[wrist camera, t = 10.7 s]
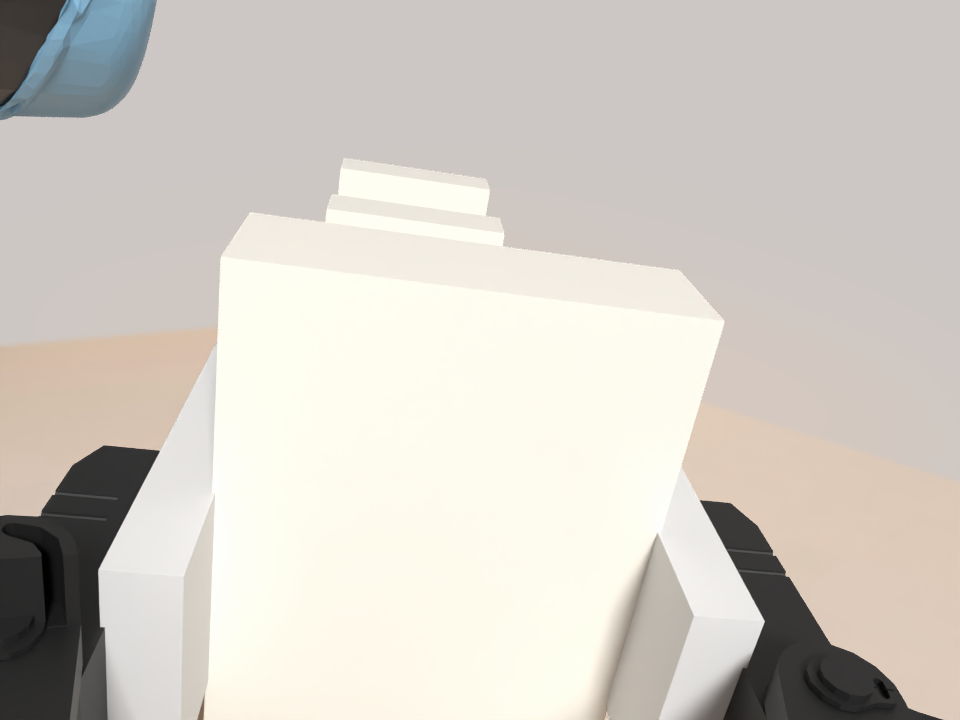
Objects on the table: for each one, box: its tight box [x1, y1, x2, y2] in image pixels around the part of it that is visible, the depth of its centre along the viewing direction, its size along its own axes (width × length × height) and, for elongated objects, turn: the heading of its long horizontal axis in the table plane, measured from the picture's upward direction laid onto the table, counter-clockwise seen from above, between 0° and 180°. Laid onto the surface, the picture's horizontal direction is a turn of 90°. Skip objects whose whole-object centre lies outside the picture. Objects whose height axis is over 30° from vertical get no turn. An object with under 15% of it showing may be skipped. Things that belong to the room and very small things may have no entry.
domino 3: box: [204, 212, 725, 720], centre depth 11 cm, size 2×5×10 cm, turn 93°
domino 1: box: [338, 158, 490, 216], centre depth 31 cm, size 2×5×10 cm, turn 93°
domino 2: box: [326, 194, 505, 246], centre depth 26 cm, size 2×5×10 cm, turn 94°
